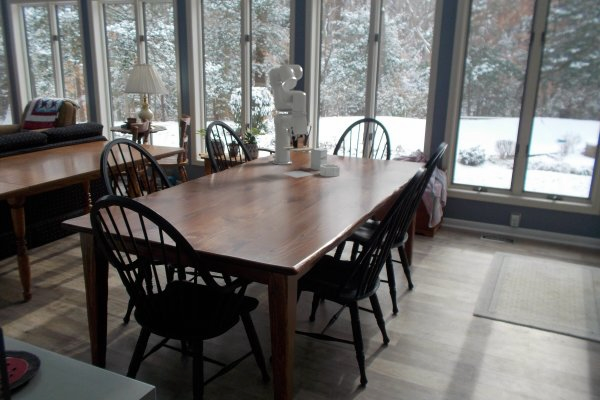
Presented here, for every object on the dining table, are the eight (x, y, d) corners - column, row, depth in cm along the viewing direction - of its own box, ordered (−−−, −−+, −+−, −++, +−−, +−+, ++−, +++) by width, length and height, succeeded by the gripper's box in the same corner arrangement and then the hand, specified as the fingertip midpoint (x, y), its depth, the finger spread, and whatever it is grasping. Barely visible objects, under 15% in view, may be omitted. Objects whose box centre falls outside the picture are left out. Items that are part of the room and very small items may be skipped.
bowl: (316, 174, 290) (316, 165, 288) (329, 172, 297) (330, 163, 295) (329, 178, 282) (329, 168, 280) (343, 175, 289) (343, 166, 287)
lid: (282, 149, 286) (282, 136, 284) (299, 146, 294) (299, 135, 292) (296, 152, 277) (297, 140, 275) (314, 150, 285) (314, 138, 283)
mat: (281, 174, 290) (281, 173, 290) (299, 171, 299) (299, 170, 299) (296, 178, 280) (296, 177, 280) (314, 175, 288) (315, 174, 288)
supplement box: (320, 171, 300) (320, 150, 296) (310, 169, 304) (310, 149, 301) (327, 169, 305) (327, 148, 302) (317, 167, 310) (317, 147, 306)
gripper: (305, 112, 288) (305, 144, 293) (283, 114, 277) (282, 147, 282) (314, 114, 282) (313, 146, 288) (291, 116, 272) (291, 149, 277)
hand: (298, 146), depth 285 cm, fingers closed on lid, 4 cm apart
